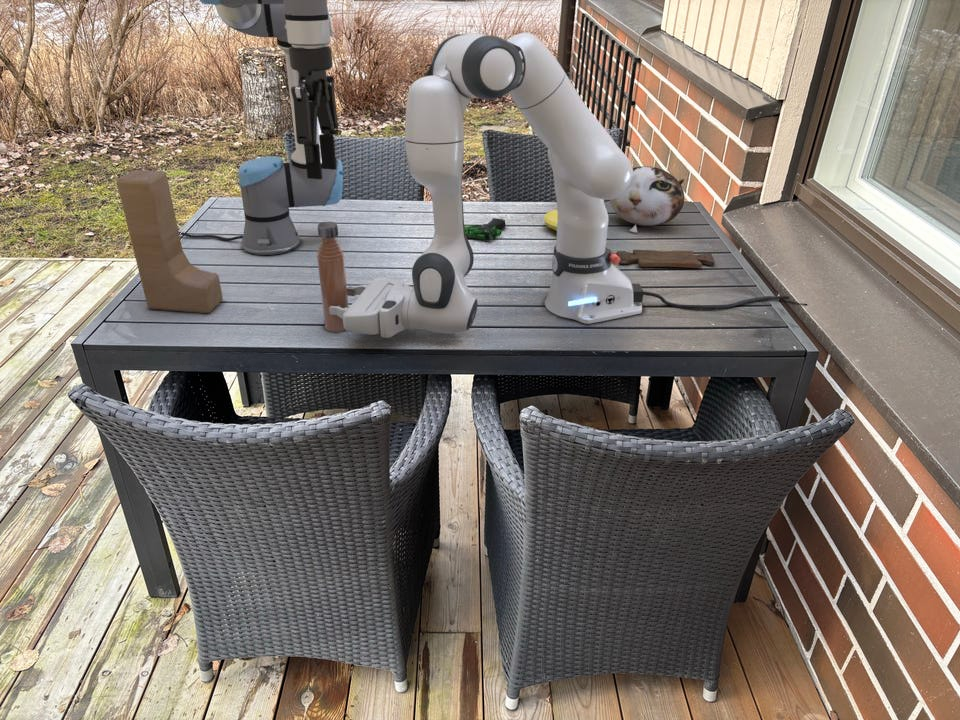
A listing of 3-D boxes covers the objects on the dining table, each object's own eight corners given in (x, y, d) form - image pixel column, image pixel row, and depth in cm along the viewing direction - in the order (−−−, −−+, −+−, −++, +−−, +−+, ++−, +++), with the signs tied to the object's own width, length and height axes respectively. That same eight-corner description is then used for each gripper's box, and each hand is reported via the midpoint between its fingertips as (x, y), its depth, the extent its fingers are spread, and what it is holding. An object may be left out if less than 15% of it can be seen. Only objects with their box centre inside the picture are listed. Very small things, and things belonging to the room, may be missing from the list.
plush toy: (590, 213, 207) (612, 150, 209) (606, 237, 223) (627, 178, 224) (664, 227, 196) (687, 160, 198) (675, 250, 212) (697, 189, 214)
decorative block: (209, 314, 161) (183, 183, 145) (146, 309, 162) (114, 179, 147) (224, 300, 167) (200, 172, 152) (163, 295, 169) (134, 168, 153)
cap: (333, 230, 149) (332, 220, 148) (341, 236, 146) (340, 226, 145) (315, 234, 147) (314, 223, 146) (323, 240, 144) (321, 229, 143)
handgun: (511, 219, 210) (493, 234, 198) (511, 228, 211) (492, 244, 199) (461, 212, 215) (440, 226, 203) (461, 221, 217) (440, 236, 204)
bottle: (344, 318, 160) (335, 220, 149) (354, 328, 156) (345, 228, 145) (321, 324, 158) (310, 224, 146) (330, 334, 154) (319, 233, 142)
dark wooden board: (718, 270, 186) (709, 256, 195) (719, 264, 186) (710, 250, 194) (619, 267, 187) (614, 252, 195) (620, 261, 186) (615, 247, 194)
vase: (559, 216, 220) (561, 193, 217) (605, 227, 212) (608, 204, 209) (532, 230, 209) (533, 207, 206) (580, 242, 201) (582, 218, 198)
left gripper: (312, 38, 137) (324, 159, 149) (264, 51, 121) (282, 186, 132) (349, 39, 135) (358, 162, 147) (305, 53, 119) (319, 189, 131)
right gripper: (415, 273, 158) (356, 267, 160) (383, 314, 141) (318, 306, 143) (415, 299, 161) (358, 292, 164) (385, 342, 144) (321, 334, 147)
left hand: (322, 173), depth 140 cm, fingers open, 6 cm apart
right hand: (339, 299), depth 153 cm, fingers open, 8 cm apart
